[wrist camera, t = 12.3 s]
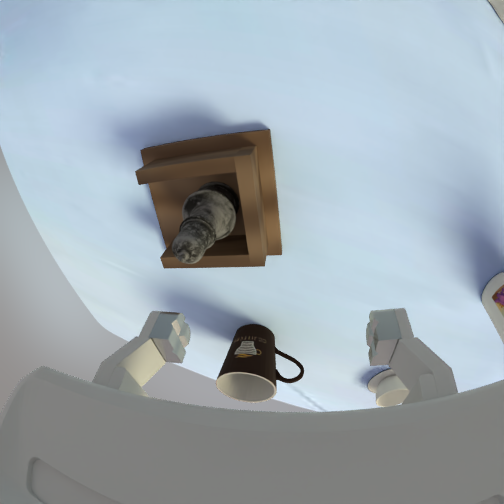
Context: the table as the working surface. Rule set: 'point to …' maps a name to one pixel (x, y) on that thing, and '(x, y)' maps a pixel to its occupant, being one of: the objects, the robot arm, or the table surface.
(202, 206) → the grey chess piece
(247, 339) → the coffee mug
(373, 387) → the teacup
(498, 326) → the milk bottle
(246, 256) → the u-rest
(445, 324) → the table surface
